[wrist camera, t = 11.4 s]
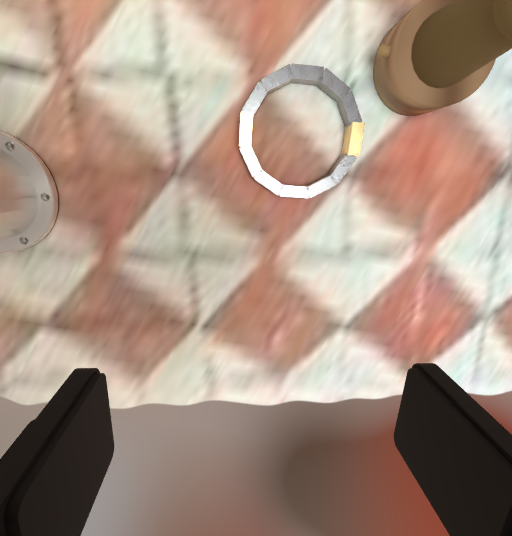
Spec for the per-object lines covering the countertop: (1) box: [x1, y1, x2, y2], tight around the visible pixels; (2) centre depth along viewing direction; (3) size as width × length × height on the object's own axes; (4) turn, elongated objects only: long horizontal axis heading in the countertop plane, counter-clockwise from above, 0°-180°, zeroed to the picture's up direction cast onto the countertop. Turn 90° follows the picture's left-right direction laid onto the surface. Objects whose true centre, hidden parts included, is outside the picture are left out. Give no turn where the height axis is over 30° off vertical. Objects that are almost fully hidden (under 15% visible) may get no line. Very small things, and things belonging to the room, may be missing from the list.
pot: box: [373, 0, 495, 116], centre depth 29 cm, size 11×9×5 cm
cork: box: [411, 0, 512, 88], centre depth 21 cm, size 6×6×11 cm
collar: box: [239, 64, 365, 198], centre depth 32 cm, size 12×12×2 cm
